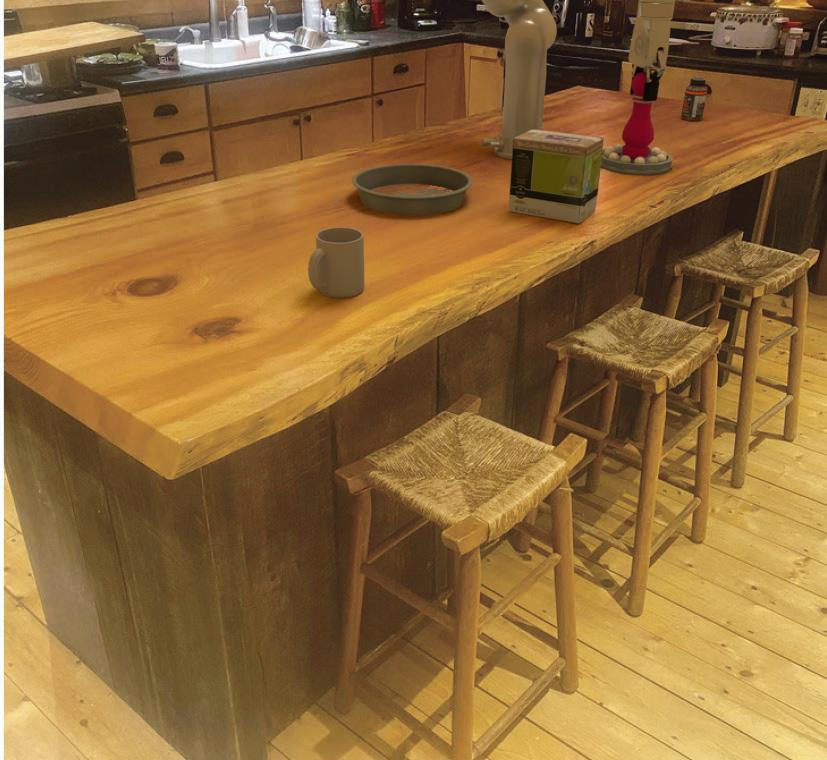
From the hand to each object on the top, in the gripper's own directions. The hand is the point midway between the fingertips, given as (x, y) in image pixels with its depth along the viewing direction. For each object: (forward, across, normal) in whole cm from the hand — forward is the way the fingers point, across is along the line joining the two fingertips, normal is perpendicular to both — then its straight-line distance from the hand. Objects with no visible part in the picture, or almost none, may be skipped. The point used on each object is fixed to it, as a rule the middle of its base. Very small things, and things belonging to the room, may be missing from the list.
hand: (643, 96), depth 188 cm
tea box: (+16, +30, -31) cm, 45 cm away
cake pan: (+16, +17, -56) cm, 61 cm away
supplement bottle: (+16, -44, +38) cm, 60 cm away
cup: (+16, +62, -77) cm, 100 cm away
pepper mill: (+13, 0, 0) cm, 13 cm away
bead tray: (+16, 0, 0) cm, 16 cm away
